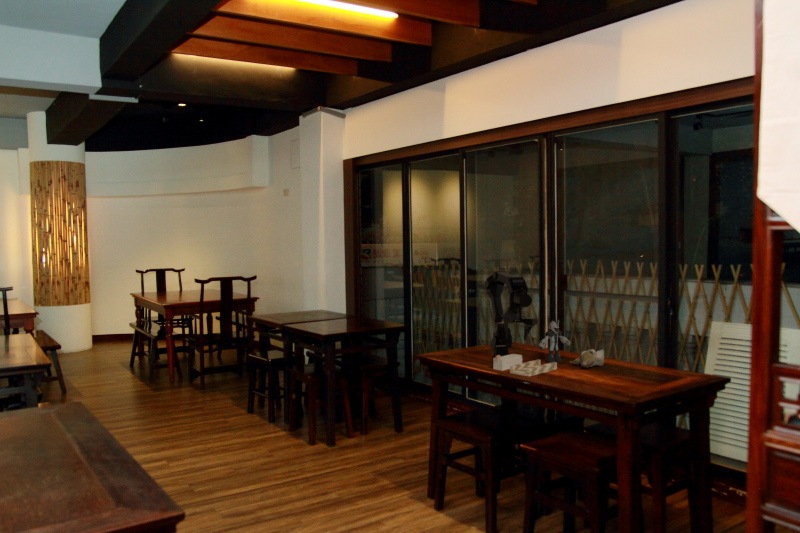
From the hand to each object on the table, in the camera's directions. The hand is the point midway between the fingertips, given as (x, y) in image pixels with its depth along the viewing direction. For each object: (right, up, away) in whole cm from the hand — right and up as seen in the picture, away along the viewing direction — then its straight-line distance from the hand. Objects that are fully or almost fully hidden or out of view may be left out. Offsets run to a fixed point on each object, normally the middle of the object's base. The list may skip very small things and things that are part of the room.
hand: (515, 339), depth 283 cm
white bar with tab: (-3, -13, +1) cm, 13 cm away
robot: (+20, -12, +11) cm, 26 cm away
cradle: (+6, -13, -8) cm, 16 cm away
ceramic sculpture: (+33, -12, 0) cm, 35 cm away
